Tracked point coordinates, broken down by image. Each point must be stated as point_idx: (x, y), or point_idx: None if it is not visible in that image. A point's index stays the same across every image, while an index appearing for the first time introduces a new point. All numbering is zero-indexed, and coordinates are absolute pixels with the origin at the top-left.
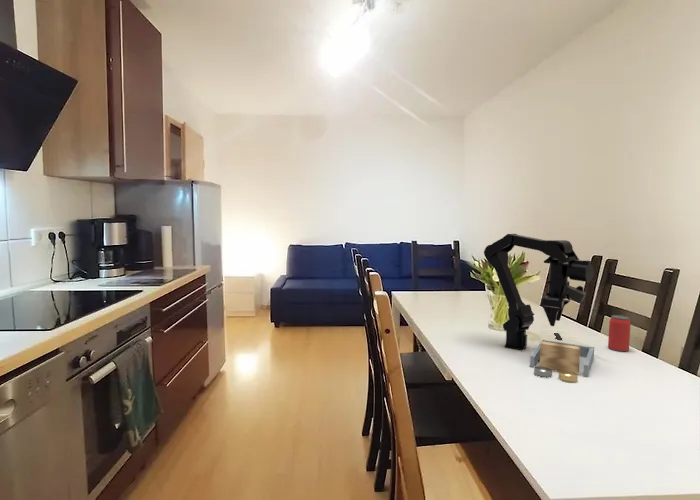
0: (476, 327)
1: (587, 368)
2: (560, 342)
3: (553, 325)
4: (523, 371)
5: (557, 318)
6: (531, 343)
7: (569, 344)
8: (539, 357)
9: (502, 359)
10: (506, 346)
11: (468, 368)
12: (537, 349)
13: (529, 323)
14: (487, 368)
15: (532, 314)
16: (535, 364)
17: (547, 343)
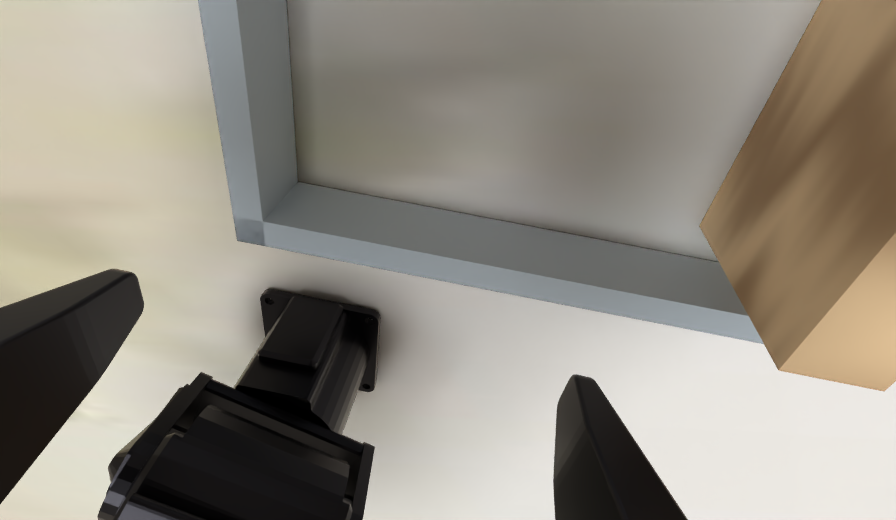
0: (101, 457)
1: None
2: (219, 98)
3: (596, 392)
4: None
5: (114, 318)
6: (177, 256)
7: (231, 2)
8: (550, 237)
9: (621, 402)
10: (374, 383)
11: (815, 513)
12: (569, 293)
13: (251, 443)
14: (809, 461)
15: (162, 518)
16: (709, 263)
17: (884, 337)
